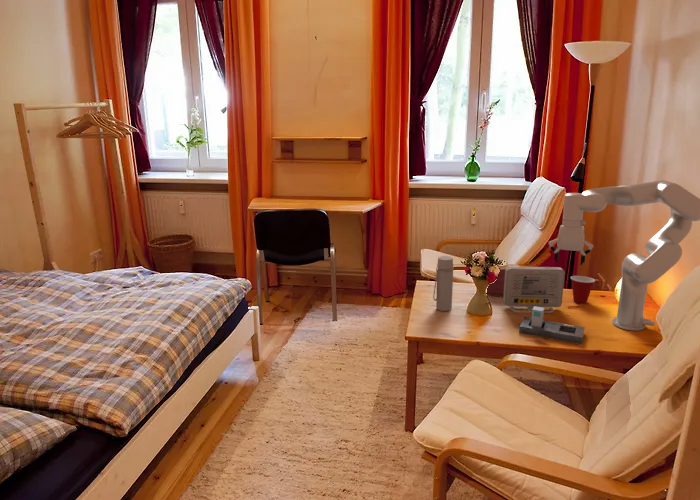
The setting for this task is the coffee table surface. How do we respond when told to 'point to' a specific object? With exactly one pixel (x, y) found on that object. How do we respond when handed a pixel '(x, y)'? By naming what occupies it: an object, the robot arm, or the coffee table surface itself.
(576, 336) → the panel
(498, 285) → the canister
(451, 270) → the water bottle
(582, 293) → the plastic cup
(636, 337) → the coffee table surface
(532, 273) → the network device
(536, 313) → the plug
